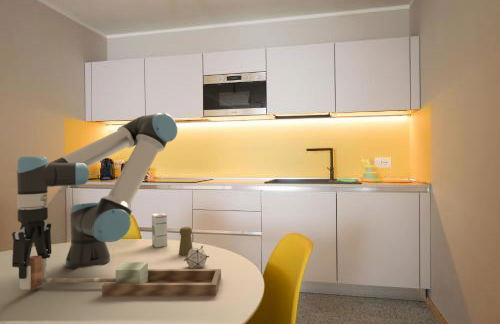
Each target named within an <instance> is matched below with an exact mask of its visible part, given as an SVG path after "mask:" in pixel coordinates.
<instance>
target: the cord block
mask: <svg viewBox="0 0 500 324" xmlns="http://www.w3.org/2000/svg"><path fill="white" fill-rule="evenodd" d="M28 266H31V288H30V289H29V290H36V289H38V288H39V287H42V285H43V284H44V283H147V282H148V269H149V262H147V261H146V262H145V261H144V262H143V261H142V262H141V261H139V262H138V261H136V262H135V261H133V262H132V261H131V262H130V261H128V262H124V263H123V264H121V265H120V266H119V267H117V269H115V277H62V278H61V277H49V278H47V277H46V278H42V256H38V255H30V259H29V264H28Z"/></svg>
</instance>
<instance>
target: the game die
mask: <svg viewBox="0 0 500 324" xmlns="http://www.w3.org/2000/svg"><path fill="white" fill-rule="evenodd" d="M188 248H189V247H188ZM207 258H210V256H209V255H207V254H206V252H205V251H204V246H203V245H201V246H200V247H195V248H194V247H193V248H192V249H190V248H189V252H188V254H187V255H186V258H185V259H183V261H184V262H186V264H187V265H188V267H189V269H204V267H205V264H206V262H207Z"/></svg>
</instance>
